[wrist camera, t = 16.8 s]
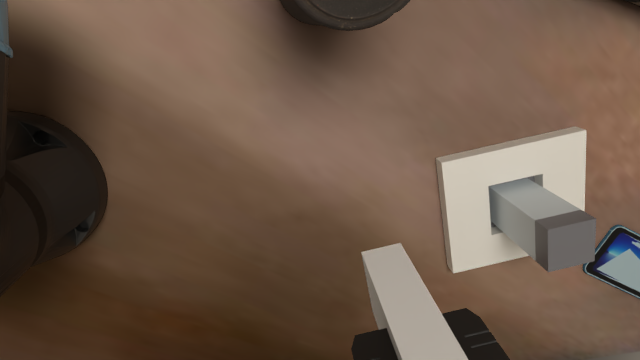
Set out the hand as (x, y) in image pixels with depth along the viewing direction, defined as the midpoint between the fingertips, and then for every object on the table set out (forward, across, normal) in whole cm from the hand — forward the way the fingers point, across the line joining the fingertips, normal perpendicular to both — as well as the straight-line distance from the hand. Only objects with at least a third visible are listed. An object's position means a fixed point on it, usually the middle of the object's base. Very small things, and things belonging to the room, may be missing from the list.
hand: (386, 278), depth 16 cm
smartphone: (+30, +37, -28) cm, 55 cm away
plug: (+29, +20, -14) cm, 38 cm away
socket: (+29, +20, -14) cm, 38 cm away
